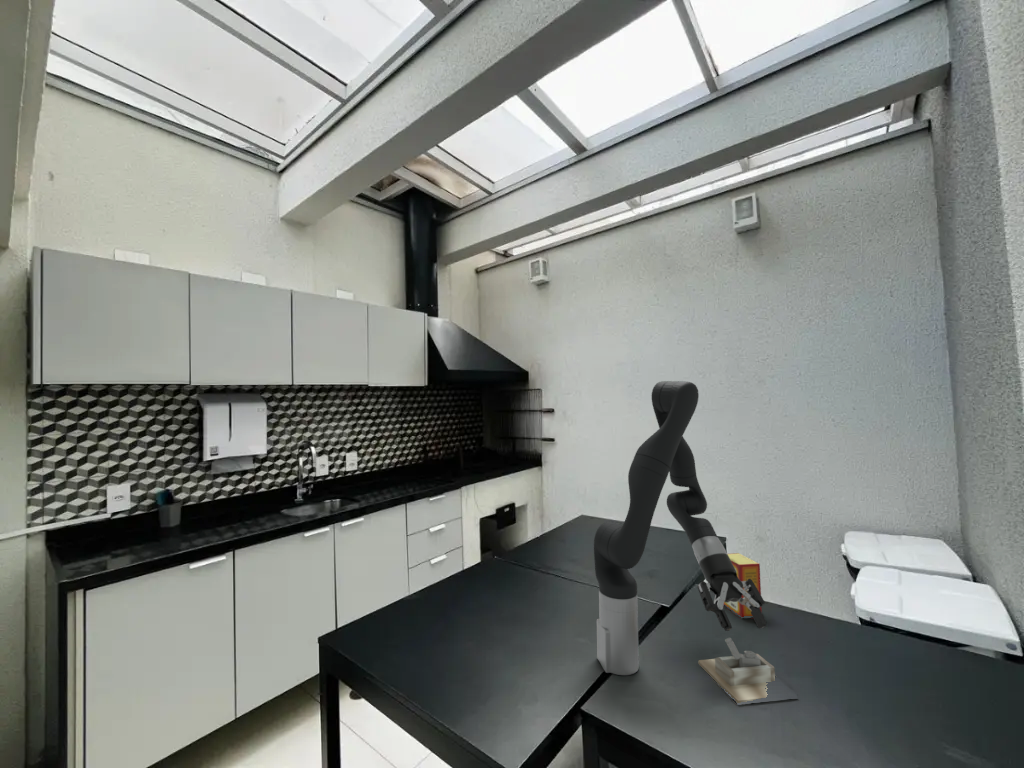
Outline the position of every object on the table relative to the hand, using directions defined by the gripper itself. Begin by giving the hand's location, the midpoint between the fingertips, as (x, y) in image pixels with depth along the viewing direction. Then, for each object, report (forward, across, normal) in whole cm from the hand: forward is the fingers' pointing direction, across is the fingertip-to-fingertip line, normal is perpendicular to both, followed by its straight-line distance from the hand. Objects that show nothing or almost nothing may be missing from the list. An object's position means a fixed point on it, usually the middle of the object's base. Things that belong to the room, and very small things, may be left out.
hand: (746, 628), depth 92 cm
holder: (+8, 0, +10) cm, 12 cm away
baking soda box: (-14, +22, +30) cm, 40 cm away
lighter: (+7, 0, +9) cm, 11 cm away
